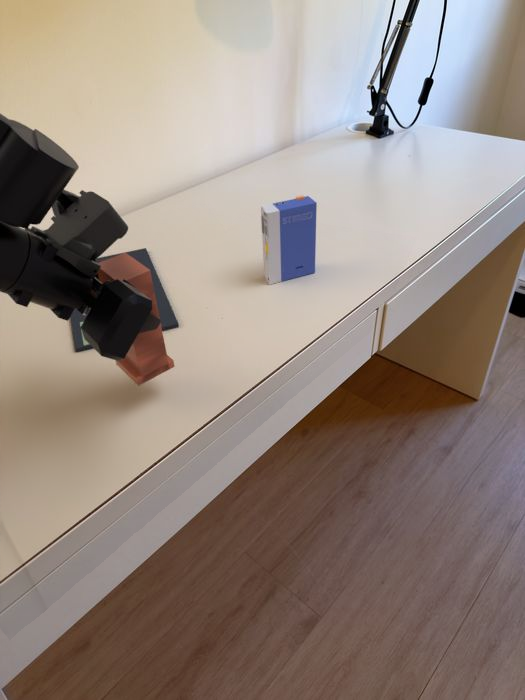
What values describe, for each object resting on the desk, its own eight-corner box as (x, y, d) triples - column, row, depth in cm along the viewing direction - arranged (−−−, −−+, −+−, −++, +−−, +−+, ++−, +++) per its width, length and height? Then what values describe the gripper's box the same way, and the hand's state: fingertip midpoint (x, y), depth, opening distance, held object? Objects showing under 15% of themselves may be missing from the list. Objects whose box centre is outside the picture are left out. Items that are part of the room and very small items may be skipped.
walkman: (307, 265, 85) (308, 193, 77) (315, 273, 83) (316, 200, 75) (262, 276, 83) (258, 203, 75) (269, 284, 81) (266, 211, 73)
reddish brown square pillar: (138, 386, 58) (112, 285, 50) (116, 364, 61) (88, 266, 53) (174, 366, 60) (155, 267, 52) (152, 346, 63) (130, 250, 55)
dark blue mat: (179, 326, 73) (178, 321, 73) (76, 352, 70) (74, 347, 69) (146, 250, 91) (145, 246, 90) (63, 268, 87) (61, 263, 87)
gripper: (107, 208, 38) (236, 282, 51) (14, 150, 50) (138, 222, 62) (35, 339, 40) (179, 380, 52) (-39, 253, 51) (93, 303, 63)
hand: (145, 314), depth 57 cm, fingers closed on reddish brown square pillar, 5 cm apart
